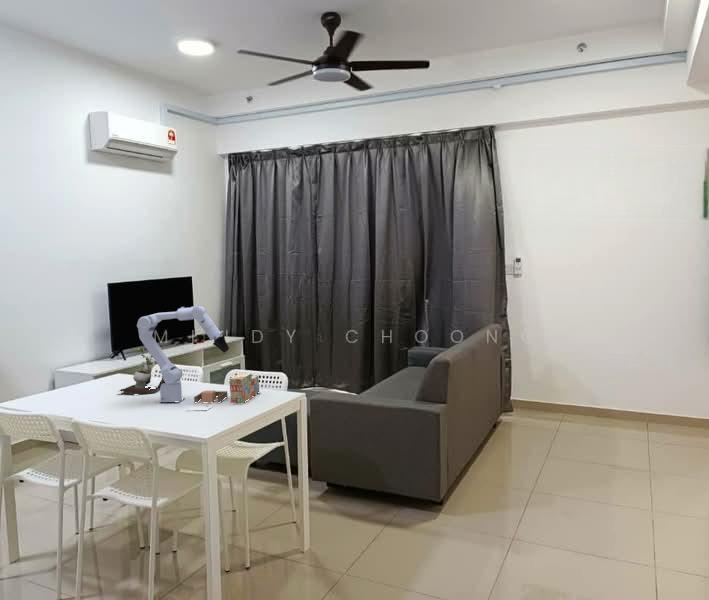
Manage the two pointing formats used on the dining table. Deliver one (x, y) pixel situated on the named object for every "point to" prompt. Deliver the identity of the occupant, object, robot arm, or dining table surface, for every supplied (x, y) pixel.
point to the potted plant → (142, 378)
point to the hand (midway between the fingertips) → (226, 351)
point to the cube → (208, 396)
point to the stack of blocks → (243, 387)
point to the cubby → (220, 395)
